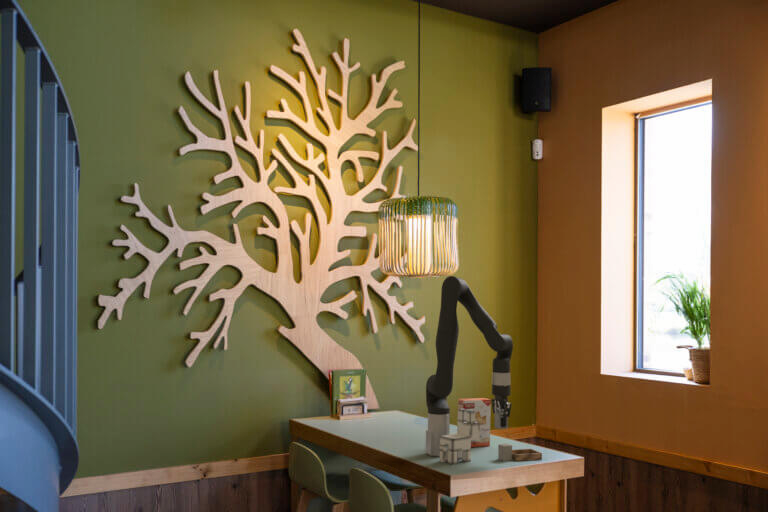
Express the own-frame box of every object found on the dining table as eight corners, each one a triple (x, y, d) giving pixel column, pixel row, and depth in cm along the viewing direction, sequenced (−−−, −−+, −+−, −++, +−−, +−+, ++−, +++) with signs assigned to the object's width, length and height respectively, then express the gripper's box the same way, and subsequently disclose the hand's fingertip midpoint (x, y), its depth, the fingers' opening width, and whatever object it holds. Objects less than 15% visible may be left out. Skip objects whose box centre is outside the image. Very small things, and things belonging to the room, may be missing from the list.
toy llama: (435, 461, 294) (435, 411, 295) (466, 456, 305) (466, 408, 306) (447, 465, 288) (448, 414, 289) (479, 459, 299) (479, 410, 300)
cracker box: (462, 448, 321) (463, 400, 322) (456, 445, 326) (456, 398, 327) (490, 446, 326) (491, 399, 327) (484, 443, 331) (484, 397, 333)
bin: (515, 461, 297) (515, 454, 298) (505, 456, 306) (505, 450, 306) (541, 459, 301) (541, 453, 301) (530, 454, 310) (530, 448, 310)
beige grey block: (504, 461, 297) (504, 446, 297) (498, 459, 301) (498, 444, 301) (512, 460, 299) (512, 445, 299) (506, 458, 303) (506, 443, 303)
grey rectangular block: (498, 428, 294) (499, 413, 295) (494, 427, 298) (494, 412, 299) (507, 428, 296) (507, 413, 296) (503, 426, 299) (503, 411, 300)
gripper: (485, 381, 304) (485, 423, 303) (500, 385, 290) (500, 429, 289) (501, 381, 306) (501, 422, 305) (517, 385, 292) (517, 428, 291)
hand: (501, 425), depth 297 cm, fingers closed on grey rectangular block, 4 cm apart
